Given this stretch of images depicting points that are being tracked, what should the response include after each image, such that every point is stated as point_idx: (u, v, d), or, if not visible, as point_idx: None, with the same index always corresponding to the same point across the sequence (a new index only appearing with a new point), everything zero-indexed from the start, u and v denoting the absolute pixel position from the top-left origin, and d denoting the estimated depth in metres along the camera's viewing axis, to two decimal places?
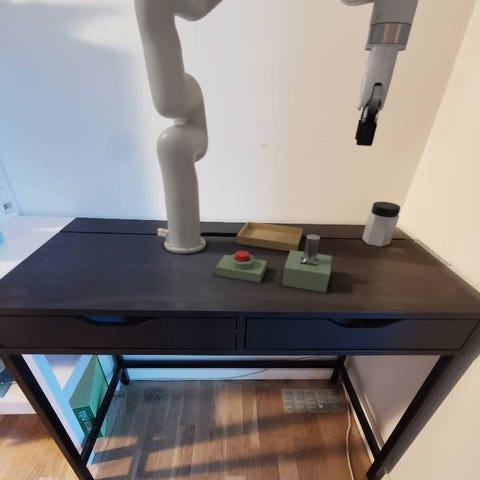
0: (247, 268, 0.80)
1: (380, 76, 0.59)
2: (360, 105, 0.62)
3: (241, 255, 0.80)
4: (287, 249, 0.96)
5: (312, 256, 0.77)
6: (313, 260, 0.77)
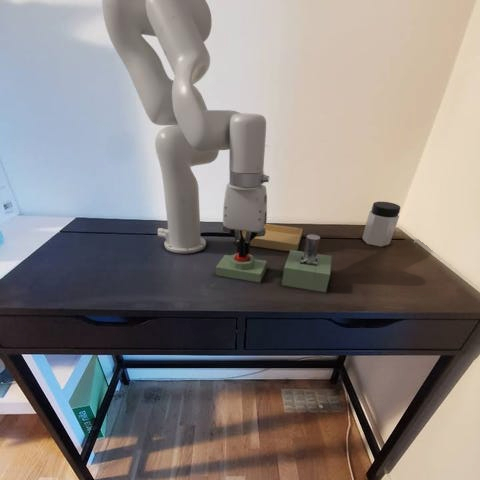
0: (247, 268, 0.80)
1: None
2: None
3: None
4: (287, 249, 0.96)
5: (312, 256, 0.77)
6: (313, 260, 0.77)
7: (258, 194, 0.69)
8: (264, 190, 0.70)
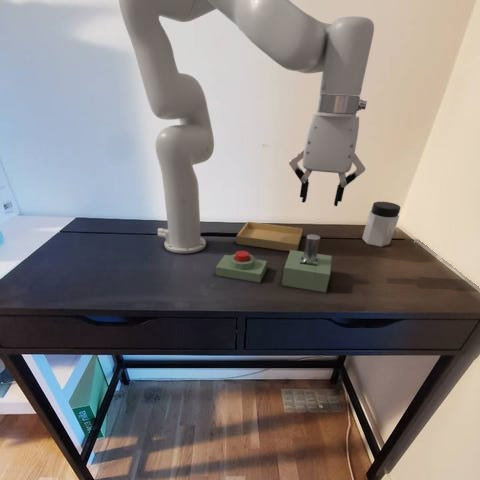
0: (247, 268, 0.80)
1: None
2: None
3: (241, 255, 0.80)
4: (287, 249, 0.96)
5: (312, 256, 0.77)
6: (313, 260, 0.77)
7: (352, 123, 0.59)
8: (358, 120, 0.60)
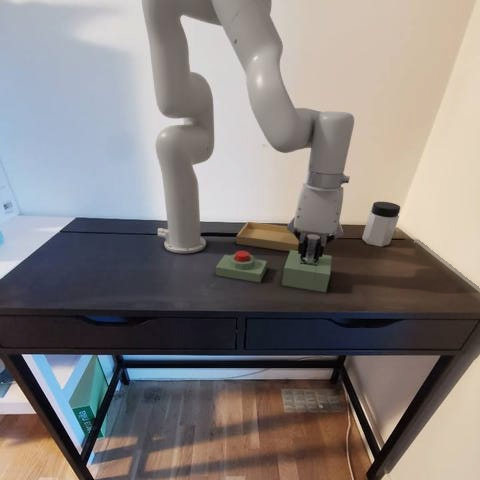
0: (247, 268, 0.80)
1: None
2: None
3: (241, 255, 0.80)
4: (287, 249, 0.96)
5: (312, 256, 0.77)
6: (313, 260, 0.77)
7: (337, 195, 0.67)
8: (342, 191, 0.68)
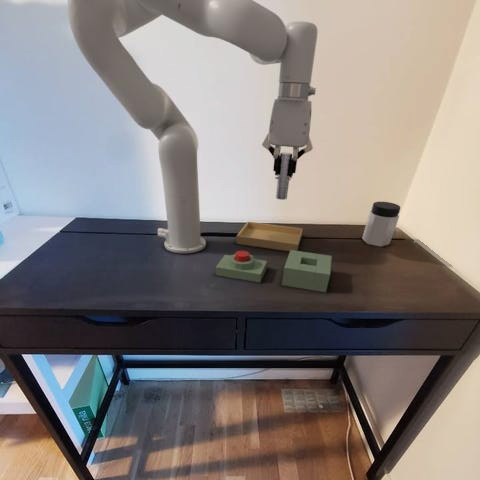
0: (247, 268, 0.80)
1: None
2: None
3: (241, 255, 0.80)
4: (287, 249, 0.96)
5: (285, 172, 0.84)
6: (287, 177, 0.85)
7: (305, 106, 0.74)
8: (310, 103, 0.75)
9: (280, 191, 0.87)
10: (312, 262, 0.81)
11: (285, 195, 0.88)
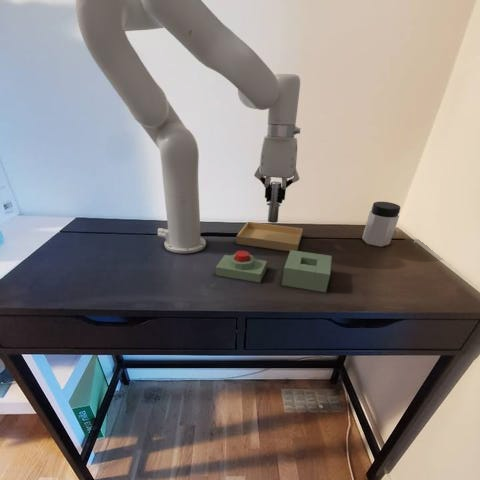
0: (247, 268, 0.80)
1: None
2: None
3: (241, 255, 0.80)
4: (287, 249, 0.96)
5: (276, 199, 0.94)
6: (277, 203, 0.94)
7: (291, 143, 0.84)
8: (296, 141, 0.84)
9: (271, 215, 0.97)
10: (312, 262, 0.81)
11: (276, 219, 0.98)
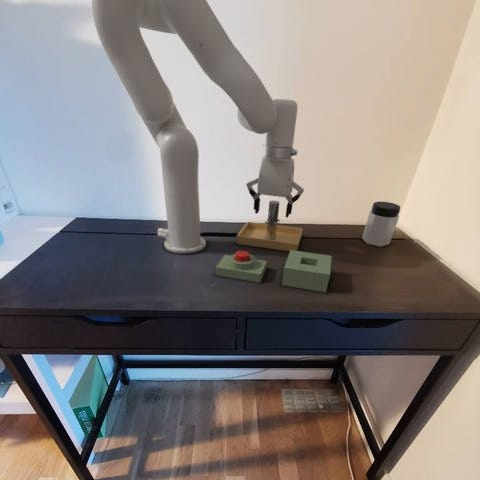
0: (247, 268, 0.80)
1: None
2: None
3: (241, 255, 0.80)
4: (287, 249, 0.96)
5: (274, 218, 0.97)
6: (275, 221, 0.98)
7: (288, 164, 0.87)
8: (293, 162, 0.88)
9: (269, 233, 1.00)
10: (312, 262, 0.81)
11: (274, 236, 1.01)
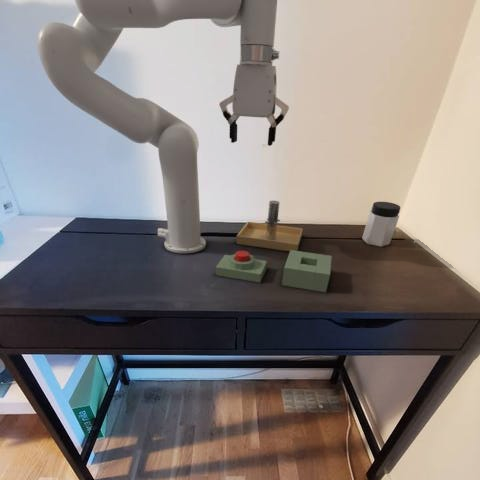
0: (247, 268, 0.80)
1: None
2: None
3: (241, 255, 0.80)
4: (287, 249, 0.96)
5: (274, 218, 0.97)
6: (275, 221, 0.98)
7: (268, 70, 0.70)
8: (274, 68, 0.71)
9: (269, 233, 1.00)
10: (312, 262, 0.81)
11: (274, 236, 1.01)
